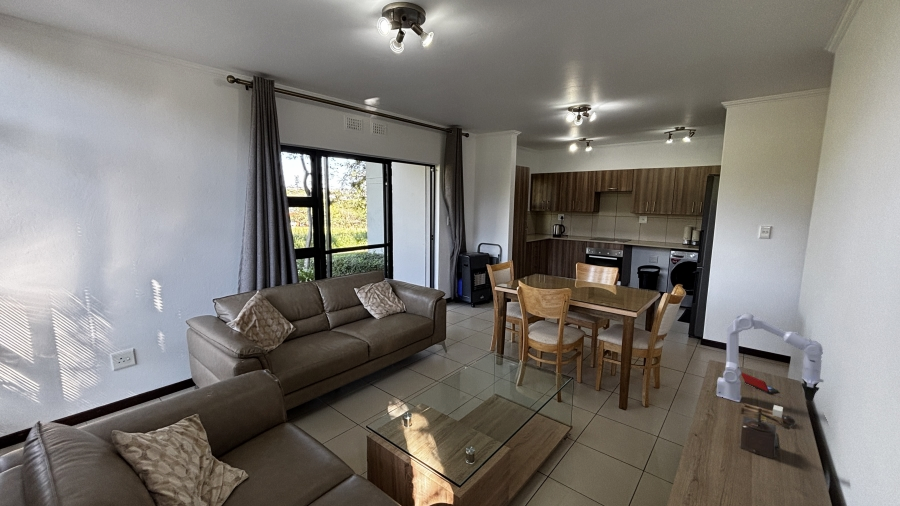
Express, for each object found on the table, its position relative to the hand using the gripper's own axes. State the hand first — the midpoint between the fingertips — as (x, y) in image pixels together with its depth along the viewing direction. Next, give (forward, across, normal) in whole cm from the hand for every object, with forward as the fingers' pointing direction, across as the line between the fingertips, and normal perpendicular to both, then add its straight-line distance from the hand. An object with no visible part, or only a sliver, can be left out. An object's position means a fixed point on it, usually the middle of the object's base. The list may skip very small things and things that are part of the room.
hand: (809, 397), depth 164 cm
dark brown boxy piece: (+10, -43, +11) cm, 46 cm away
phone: (+11, -33, +12) cm, 37 cm away
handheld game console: (+11, +22, +19) cm, 31 cm away
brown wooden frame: (+10, -13, +14) cm, 22 cm away
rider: (+9, -13, +9) cm, 18 cm away
